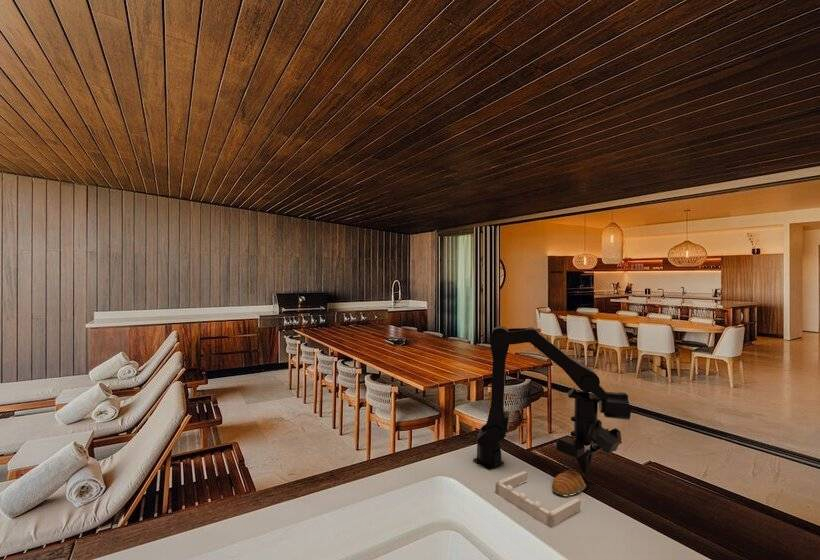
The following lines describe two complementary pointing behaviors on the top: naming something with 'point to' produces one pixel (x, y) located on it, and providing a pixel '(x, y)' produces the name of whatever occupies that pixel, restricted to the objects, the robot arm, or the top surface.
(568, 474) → the pastry
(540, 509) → the frame
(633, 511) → the top surface
